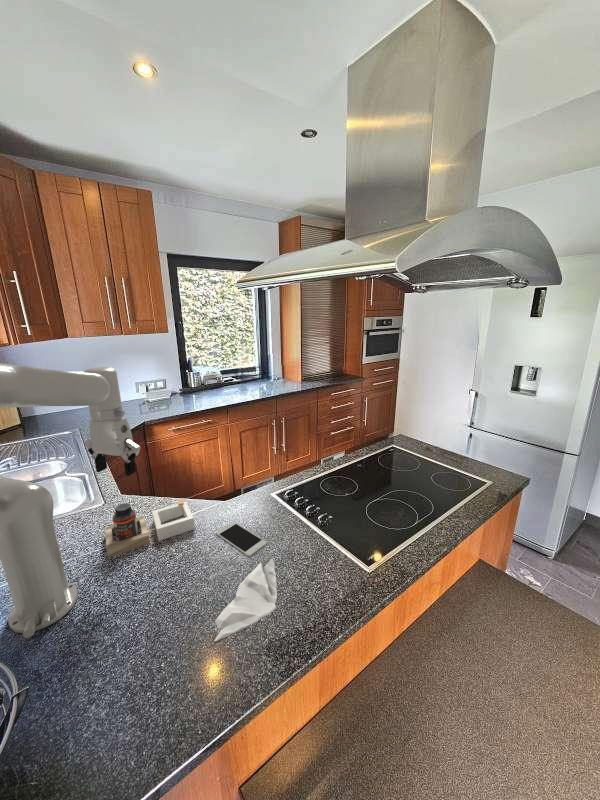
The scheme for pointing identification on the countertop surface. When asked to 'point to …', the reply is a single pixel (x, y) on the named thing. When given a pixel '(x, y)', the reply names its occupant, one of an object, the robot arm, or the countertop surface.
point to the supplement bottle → (125, 522)
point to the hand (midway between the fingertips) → (116, 471)
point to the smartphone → (241, 539)
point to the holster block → (127, 543)
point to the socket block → (175, 526)
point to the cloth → (250, 601)
